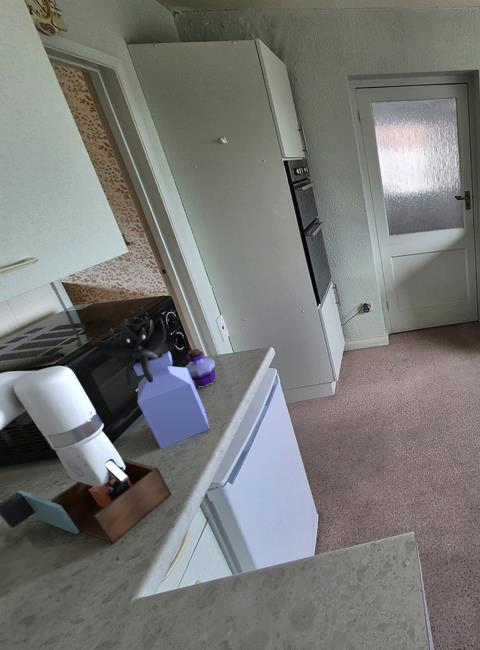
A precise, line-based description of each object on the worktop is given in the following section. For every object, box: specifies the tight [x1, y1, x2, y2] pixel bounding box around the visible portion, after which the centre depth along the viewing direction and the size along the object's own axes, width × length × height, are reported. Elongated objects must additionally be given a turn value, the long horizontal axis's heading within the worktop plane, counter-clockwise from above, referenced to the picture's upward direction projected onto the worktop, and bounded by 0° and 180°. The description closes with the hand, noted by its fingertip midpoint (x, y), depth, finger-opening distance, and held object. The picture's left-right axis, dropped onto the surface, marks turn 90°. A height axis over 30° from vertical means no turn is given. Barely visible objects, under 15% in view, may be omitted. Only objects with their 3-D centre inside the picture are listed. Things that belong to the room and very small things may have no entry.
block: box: [89, 474, 132, 507], centre depth 78 cm, size 4×4×4 cm
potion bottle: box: [184, 348, 216, 386], centre depth 121 cm, size 9×9×12 cm
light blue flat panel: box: [0, 490, 81, 535], centre depth 74 cm, size 4×14×8 cm, turn 72°
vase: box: [93, 306, 210, 450], centre depth 94 cm, size 14×12×35 cm
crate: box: [50, 457, 172, 545], centre depth 78 cm, size 12×14×8 cm
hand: (116, 497), depth 79 cm, fingers closed on block, 4 cm apart
